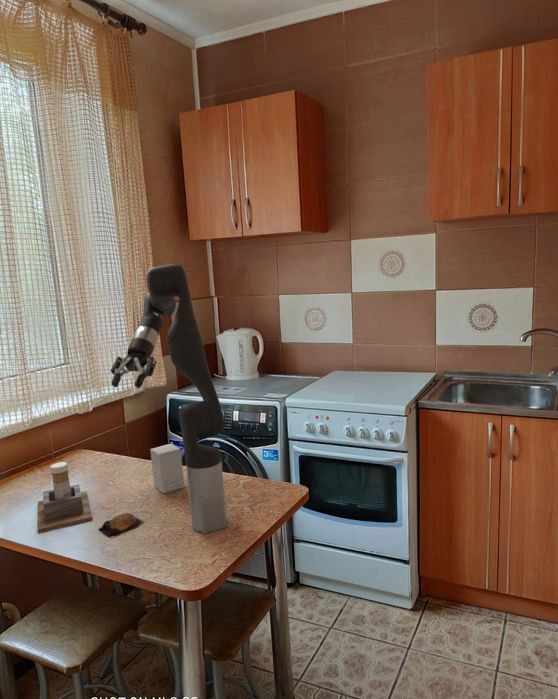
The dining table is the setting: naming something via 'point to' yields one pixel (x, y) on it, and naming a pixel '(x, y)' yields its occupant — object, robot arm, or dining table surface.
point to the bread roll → (120, 524)
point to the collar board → (63, 510)
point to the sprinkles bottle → (60, 480)
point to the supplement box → (167, 468)
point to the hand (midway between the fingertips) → (125, 386)
